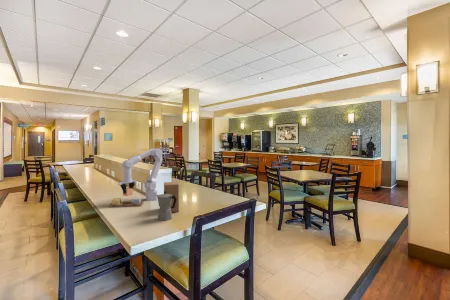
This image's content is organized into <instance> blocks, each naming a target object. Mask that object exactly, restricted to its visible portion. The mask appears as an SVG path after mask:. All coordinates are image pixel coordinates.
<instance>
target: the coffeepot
mask: <svg viewBox="0 0 450 300" xmlns="http://www.w3.org/2000/svg"><path fill="white" fill-rule="evenodd" d="M156 196H157V197H158V199H157V202H158V207H159V210H158V216H157V220H158V221H162V222H165V221H169V220H172V219H173V213H171V208H174V207H175V204H176V200H177V198H176V197H175V196H172V195H171V194H166V191H164V190H163V193H162V194H158V195H156ZM172 199H174V203H173V207H171V208H170V205H171V200H172Z"/></svg>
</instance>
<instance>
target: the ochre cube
mask: <svg viewBox="0 0 450 300" xmlns="http://www.w3.org/2000/svg"><path fill="white" fill-rule="evenodd" d="M121 202H122V198H120V197H118V198H116V197H115V198H113V199H111V203H112V205H115V204H120V203H121Z"/></svg>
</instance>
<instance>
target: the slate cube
mask: <svg viewBox="0 0 450 300" xmlns="http://www.w3.org/2000/svg"><path fill="white" fill-rule="evenodd" d="M131 201H132V204H140V203H141V201H142V200H141V197H133V198H132V200H131Z"/></svg>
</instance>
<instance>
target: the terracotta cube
mask: <svg viewBox="0 0 450 300" xmlns="http://www.w3.org/2000/svg"><path fill="white" fill-rule="evenodd" d="M133 189H134V188H133ZM133 189H132V188H129V187H126V194H124V193H123V192H122V196H124V197H129V196H133V191H134V190H133Z"/></svg>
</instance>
